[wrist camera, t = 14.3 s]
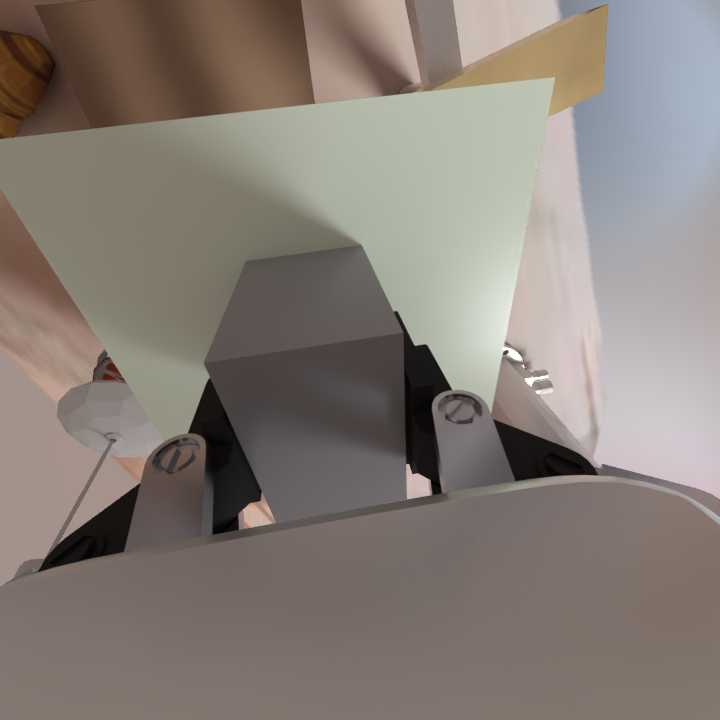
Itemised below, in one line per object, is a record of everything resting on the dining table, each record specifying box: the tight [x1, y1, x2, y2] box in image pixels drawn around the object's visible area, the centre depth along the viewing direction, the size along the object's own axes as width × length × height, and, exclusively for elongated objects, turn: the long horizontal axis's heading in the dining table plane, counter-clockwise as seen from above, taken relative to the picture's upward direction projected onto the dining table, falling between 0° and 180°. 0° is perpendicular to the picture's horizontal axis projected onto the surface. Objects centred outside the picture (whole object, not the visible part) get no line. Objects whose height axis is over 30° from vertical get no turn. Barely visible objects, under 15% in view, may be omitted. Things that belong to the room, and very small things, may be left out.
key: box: [398, 0, 608, 117], centre depth 19 cm, size 10×9×16 cm
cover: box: [0, 77, 555, 523], centre depth 11 cm, size 16×14×8 cm
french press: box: [14, 349, 165, 578], centre depth 27 cm, size 10×12×25 cm
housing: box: [35, 0, 315, 129], centre depth 24 cm, size 14×12×6 cm
